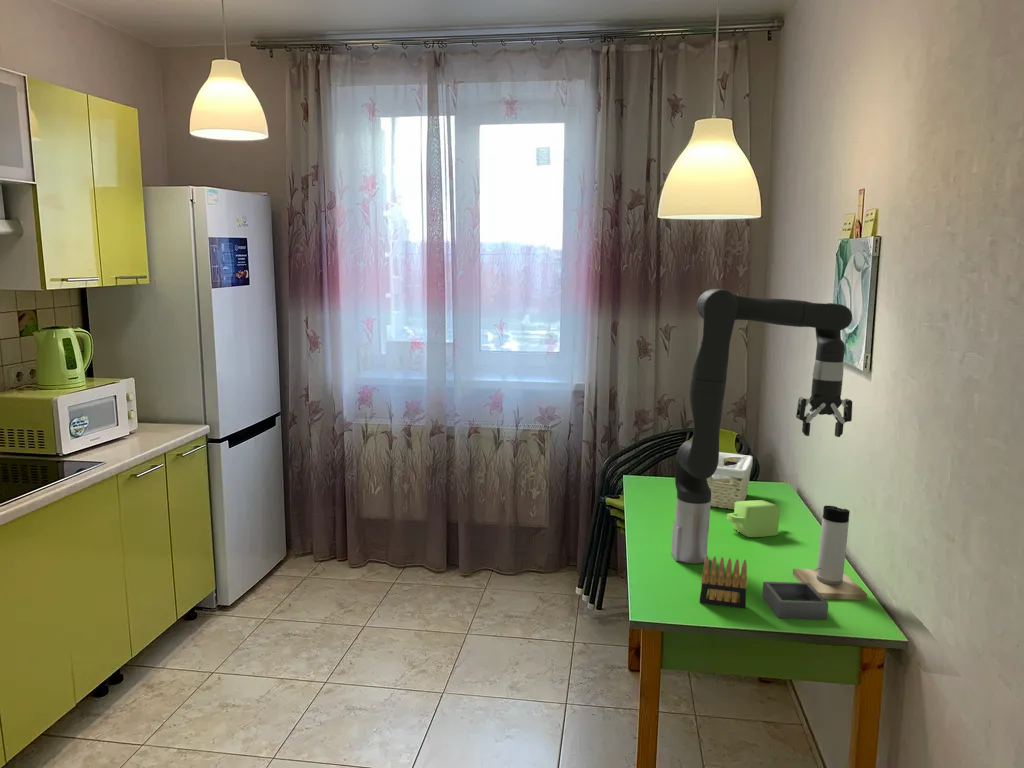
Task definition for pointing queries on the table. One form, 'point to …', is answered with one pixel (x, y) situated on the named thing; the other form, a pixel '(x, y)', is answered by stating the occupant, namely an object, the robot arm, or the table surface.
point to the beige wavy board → (831, 586)
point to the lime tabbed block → (755, 518)
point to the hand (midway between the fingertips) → (822, 435)
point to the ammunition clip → (724, 584)
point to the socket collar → (794, 609)
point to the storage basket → (730, 480)
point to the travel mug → (833, 545)
